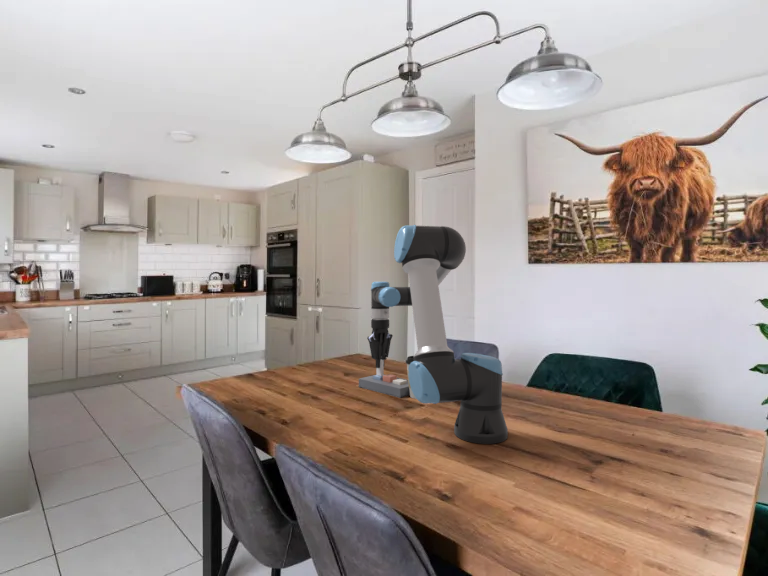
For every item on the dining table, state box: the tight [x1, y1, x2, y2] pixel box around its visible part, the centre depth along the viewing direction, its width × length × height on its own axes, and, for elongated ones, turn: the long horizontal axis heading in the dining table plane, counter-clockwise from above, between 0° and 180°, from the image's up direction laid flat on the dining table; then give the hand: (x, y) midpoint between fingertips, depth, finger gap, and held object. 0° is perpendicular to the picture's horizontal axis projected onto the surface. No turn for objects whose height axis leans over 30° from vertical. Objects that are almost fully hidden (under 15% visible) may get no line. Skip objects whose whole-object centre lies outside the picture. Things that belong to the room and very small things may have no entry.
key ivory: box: [393, 378, 408, 385], centre depth 172 cm, size 4×4×2 cm
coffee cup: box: [405, 355, 417, 400], centre depth 165 cm, size 10×10×15 cm
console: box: [358, 374, 410, 399], centre depth 176 cm, size 13×23×4 cm, turn 46°
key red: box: [383, 373, 398, 383], centre depth 176 cm, size 4×4×2 cm
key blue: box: [372, 374, 383, 380], centre depth 179 cm, size 4×4×2 cm
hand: (380, 375), depth 180 cm, fingers closed
